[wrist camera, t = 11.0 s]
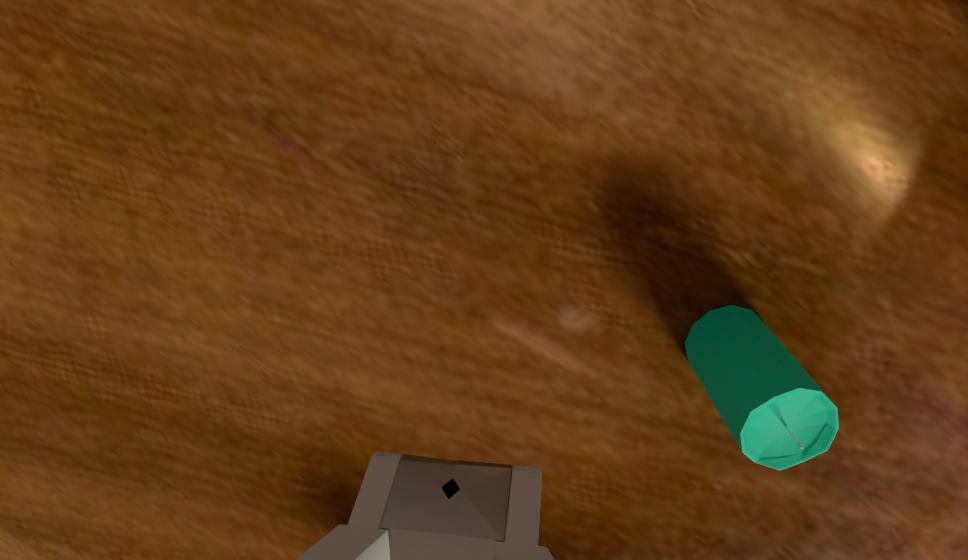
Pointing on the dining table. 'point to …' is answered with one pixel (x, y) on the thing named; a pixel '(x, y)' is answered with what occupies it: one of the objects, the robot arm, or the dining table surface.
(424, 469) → the robot arm
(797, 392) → the candle
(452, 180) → the dining table surface
